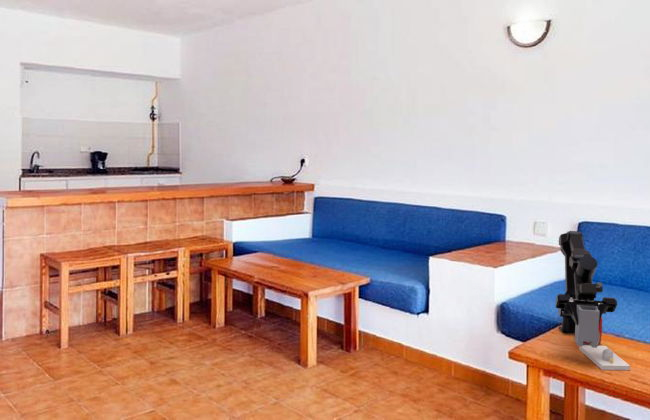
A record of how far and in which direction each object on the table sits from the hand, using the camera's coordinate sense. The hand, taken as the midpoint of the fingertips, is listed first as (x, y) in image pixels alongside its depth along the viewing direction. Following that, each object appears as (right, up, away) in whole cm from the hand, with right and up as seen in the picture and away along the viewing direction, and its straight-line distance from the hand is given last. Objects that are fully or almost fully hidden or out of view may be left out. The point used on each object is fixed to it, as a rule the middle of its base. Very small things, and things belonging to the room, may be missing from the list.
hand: (587, 325), depth 191 cm
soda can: (+10, -11, +19) cm, 24 cm away
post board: (+7, -13, +5) cm, 15 cm away
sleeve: (0, -7, +2) cm, 7 cm away
